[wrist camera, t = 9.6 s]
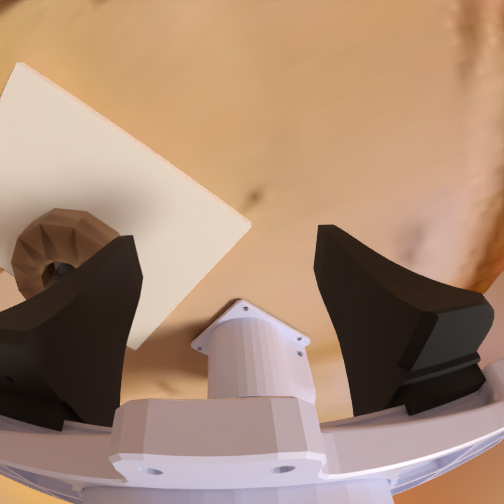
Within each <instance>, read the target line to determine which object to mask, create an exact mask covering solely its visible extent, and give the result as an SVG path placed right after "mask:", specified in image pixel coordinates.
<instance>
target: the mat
mask: <svg viewBox="0 0 504 504" xmlns="http://www.w3.org/2000/svg"><path fill="white" fill-rule="evenodd" d="M54 208H60V209H69V210H79V211H88V212H89V213H90V214H92V215H93V216H95V217H96V218H98V219H99V220H101V221H102V222H104V223H105V224H107V225H108V226H110V227H111V228H113V229H114V230H116V231H117V232H119V234H120V236H124V235H133V237H134V241H135V245H136V250H137V254H138V258H139V262H140V266H141V270H142V274H143V283H142V290H141V295H140V300H139V303H138V307H137V310H136V313H135V317H134V320H133V323H132V327H131V330H130V334H129V337H128V341H127V345H126V346H128V347H130V348H132V349H134V350H137V348H138V347H139V346H140V345H141V344H142V343H143V342H144V341H145V340H146V339H147V338H148V336H149V335H150V334H151V333H152V332H153V331H154V330H155V329H156V328H157V327H158V326H159V325H160V323H161V322H162V321H163V320H164V319H165V318H166V317H167V316H168V315H169V314H170V313H171V312H172V311H173V309H174V308H175V307H176V306H177V305H178V304H179V303H180V302H181V301H182V300H183V299H184V298H185V297H186V296H187V294H188V293H189V292H190V291H191V290H192V289H193V288H194V287H195V286H196V285H197V284H198V283H199V282H200V281H201V280H202V278H203V277H204V276H205V275H206V274H207V273H208V272H209V271H210V270H211V269H212V268H213V267H214V266H215V265H216V264H217V263H218V261H219V260H220V259H221V258H222V257H223V256H224V255H225V254H226V253H227V252H228V251H229V250H230V249H231V248H232V247H233V246H234V245H235V244H236V243H237V241H238V240H239V239H240V238H241V237H242V236H243V235H244V234H245V233H246V232H247V231H248V230H249V229H250V228H251V227H252V226H251V221H249V220H248V219H247V218H245V217H244V216H243V215H241V214H240V213H238V212H237V211H236V210H234V209H233V208H232V207H230V206H229V205H228V204H226V203H225V202H224V201H222V200H221V199H219V198H218V197H217V196H215V195H214V194H213V193H211V192H210V191H208V190H207V189H206V188H204V187H203V186H202V185H200V184H199V183H197V182H196V181H195V180H193V179H192V178H190V177H189V176H188V175H186V174H185V173H184V172H182V171H181V170H179V169H178V168H177V167H175V166H174V165H172V164H171V163H170V162H168V161H167V160H165V159H164V158H163V157H161V156H160V155H158V154H157V153H155V152H154V151H153V150H151V149H150V148H148V147H147V146H146V145H144V144H143V143H141V142H140V141H138V140H137V139H136V138H134V137H133V136H131V135H130V134H128V133H127V132H126V131H124V130H123V129H121V128H120V127H118V126H117V125H115V124H114V123H113V122H111V121H110V120H108V119H107V118H105V117H104V116H102V115H101V114H100V113H98V112H97V111H95V110H94V109H92V108H91V107H89V106H88V105H86V104H85V103H83V102H82V101H80V100H79V99H77V98H76V97H75V96H73V95H72V94H70V93H69V92H67V91H66V90H64V89H63V88H61V87H60V86H58V85H57V84H55V83H54V82H52V81H51V80H49V79H48V78H46V77H45V76H43V75H41V74H40V73H38V72H37V71H35V70H34V69H32V68H31V67H29V66H28V65H26V64H25V63H23V62H20V63H16V65H15V67H14V70H13V72H12V74H11V76H10V78H9V80H8V82H7V85H6V87H5V89H4V91H3V94H2V96H1V99H0V267H2V268H3V269H4V270H6V271H7V272H8V273H10V274H11V275H12V276H14V272H13V269H12V265H11V260H12V256H13V252H14V248H15V245H16V241H17V237H18V236H19V235H20V234H21V233H22V232H23V231H24V230H25V229H26V228H27V227H28V226H29V225H30V224H31V223H32V222H33V221H34V220H36V219H38V218H39V217H41V216H43V215H44V214H46V213H47V212H49V211H51V210H52V209H54ZM60 263H61V262H57V261H54V266H55V271H56V269H57V268H58V266H59V265H60ZM14 277H15V276H14Z"/></svg>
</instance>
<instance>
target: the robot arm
mask: <svg viewBox="0 0 504 504" xmlns="http://www.w3.org/2000/svg"><path fill="white" fill-rule="evenodd" d="M314 272H315V277H316V281H317V284H318V288H319V291H320V294H321V296H322V299H323V301H324V304H325V306H326V308H327V311H328V313H329V316H330V318H331V321H332V323H333V326H334V328H335V331H336V334H337V337H338V340H339V343H340V347H341V351H342V355H343V359H344V364H345V368H346V373H347V378H348V383H349V388H350V394H351V400H352V407H353V414H354V417H352V418H347V419H341V420H336V421H330V422H325V423H319V421H318V417H317V413H316V409H315V406H314V404H315V398H316V393H315V387H314V383H313V379H312V375H311V371H310V367H309V363H308V359H307V355H306V351H305V347H306V346H307V345H308V344H309V343H310V342H311V341H310V338H309V337H307V336H305V335H303V334H302V333H300V332H298V331H296V330H295V329H293V328H291V327H289V326H288V325H286V324H284V323H282V322H281V321H279V320H277V319H275V318H274V317H272V316H270V315H269V314H267V313H265V312H263V311H262V310H260V309H258V308H257V307H255V306H253V305H251V304H250V303H248V302H246V301H245V300H238V301H236V302H235V303H234V304H233V305H232V306H231V307H230V308H229V309H227V310H226V311H225V312H224V313H223V314H222V315H221V316H220V317H219V318H218V319H217V320H215V321H214V322H213V323H212V324H211V325H210V326H209V327H208V328H207V329H206V330H204V331H203V332H202V333H201V334H200V335H199V336H198V337H197V338H196V339H194V340H193V341H192V342H191V348H192V349H194V350H196V351H198V352H201V353H203V354H205V355H207V356H208V399H152V398H151V399H141V400H131V401H128V402H126V403H125V404H123V405H122V406H120V391H121V379H122V369H123V362H124V355H125V349H126V345H127V341H128V337H129V334H130V330H131V327H132V323H133V320H134V317H135V313H136V310H137V307H138V303H139V300H140V295H141V290H142V283H143V274H142V270H141V266H140V262H139V258H138V254H137V250H136V245H135V241H134V237H133V235H124V236H118V237H116V238H115V239H113V240H112V241H111V242H109V243H108V244H107V245H105V246H104V247H103V248H102V249H100V250H99V251H98V252H97V253H95V254H94V255H93V256H92V257H90V258H89V259H88V260H87V261H86V262H84V263H83V264H82V265H80V266H79V267H78V268H76V269H75V270H74V271H73V272H71V273H70V274H69V275H67V276H66V277H64V278H63V279H61V280H60V281H58V282H57V283H55V284H54V285H52V286H51V287H49V288H48V289H46V290H44V291H42V292H40V293H39V294H37V295H35V296H33V297H32V298H30V299H28V300H26V301H24V302H22V303H20V304H18V305H15V306H13V307H11V308H9V309H6V310H4V311H1V312H0V474H1V475H3V476H5V477H7V478H9V479H12V480H14V481H16V482H18V483H21V484H23V485H25V486H28V487H30V488H32V489H35V490H37V491H40V492H42V493H45V494H47V495H50V496H53V497H56V498H59V499H61V500H64V501H67V502H71V503H74V504H394V502H393V498H392V495H395V494H397V493H400V492H403V491H405V490H408V489H410V488H413V487H415V486H417V485H420V484H422V483H424V482H427V481H429V480H431V479H433V478H435V477H437V476H439V475H441V474H444V473H446V472H448V471H450V470H452V469H453V468H455V467H457V466H459V465H461V464H463V463H465V462H467V461H469V460H470V459H472V458H474V457H476V456H478V455H479V454H481V453H483V452H485V451H486V450H488V449H490V448H491V447H493V446H495V445H496V444H498V443H499V442H500V441H501V440H502V439H504V358H502V359H500V360H498V361H495V362H493V363H491V364H489V365H487V366H485V367H484V368H483V369H482V370H481V369H480V368H479V366H478V364H477V363H478V362H479V361H480V356H479V354H478V353H477V350H478V348H479V346H480V345H481V343H482V342H483V340H484V339H485V337H486V335H487V333H488V332H489V330H490V328H491V326H492V324H493V320H494V309H493V308H492V306H491V305H490V304H489V302H488V301H487V300H486V299H485V297H484V296H483V295H482V294H481V293H479V292H474V291H470V290H465V289H461V288H457V287H453V286H450V285H447V284H443V283H440V282H437V281H435V280H432V279H429V278H427V277H424V276H422V275H419V274H417V273H414V272H412V271H410V270H408V269H406V268H404V267H402V266H400V265H398V264H396V263H394V262H392V261H390V260H389V259H387V258H385V257H383V256H382V255H380V254H378V253H377V252H375V251H374V250H372V249H370V248H369V247H367V246H366V245H364V244H363V243H361V242H360V241H358V240H357V239H355V238H354V237H352V236H351V235H349V234H348V233H346V232H345V231H343V230H342V229H340V228H339V227H337V226H335V225H318V233H317V242H316V251H315V260H314ZM243 307H247V308H243ZM299 337H300V338H299Z"/></svg>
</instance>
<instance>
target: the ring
mask: <svg viewBox="0 0 504 504" xmlns="http://www.w3.org/2000/svg"><path fill="white" fill-rule="evenodd" d="M118 236H120V234H119V232H117V231H116V230H114V229H113V228H111V227H110V226H108V225H107V224H105V223H104V222H102V221H101V220H99V219H98V218H96V217H95V216H93V215H92V214H90V213H89V212H88V211H79V210H69V209H60V208H54V209H52V210H51V211H49V212H47V213H46V214H44V215H43V216H41V217H39V218H38V219H36V220H34V221H33V222H32V223H31V224H30V225H29V226H28V227H27V228H26V229H25V230H24V231H23V232H22V233H21V234H20V235H19V236H18V237H17V241H16V245H15V248H14V252H13V256H12V260H11V265H12V269H13V272H14V276H15V279H16V283H17V286H18V289H19V291H20V292H21V293H22V295H23V296H24V298H25V299H26V300H28V299H30V298H32V297H33V296H35V295H37V294H39V293H40V292H42V291H43V290H44V288H45V287H46V285H47V283H48V282H49V280H50V279H51V277H52V276H53V274H54V272H55V266H54V261H57V262H64V263H69V264H71V265H72V266H74V267H75V268H78V267H79V266H80V265H82V264H83V263H84V262H86V261H87V260H88V259H89V258H90V257H92V256H93V255H94V254H95V253H97V252H98V251H99V250H100V249H102V248H103V247H104V246H105V245H107V244H108V243H109V242H111V241H112V240H113V239H115V238H116V237H118Z"/></svg>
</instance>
